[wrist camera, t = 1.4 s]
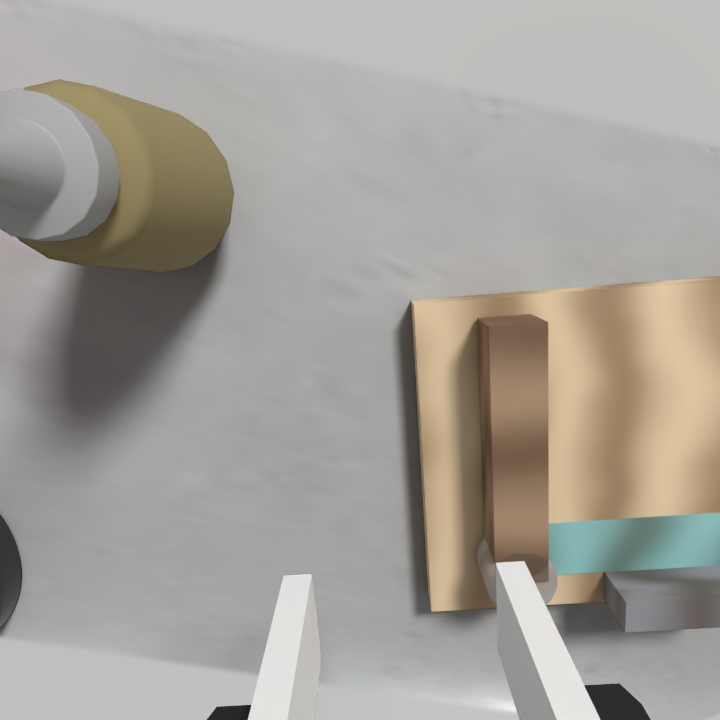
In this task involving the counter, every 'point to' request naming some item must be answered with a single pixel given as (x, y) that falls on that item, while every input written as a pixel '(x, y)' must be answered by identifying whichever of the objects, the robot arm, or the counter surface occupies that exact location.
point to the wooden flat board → (588, 447)
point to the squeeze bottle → (109, 179)
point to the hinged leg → (515, 448)
